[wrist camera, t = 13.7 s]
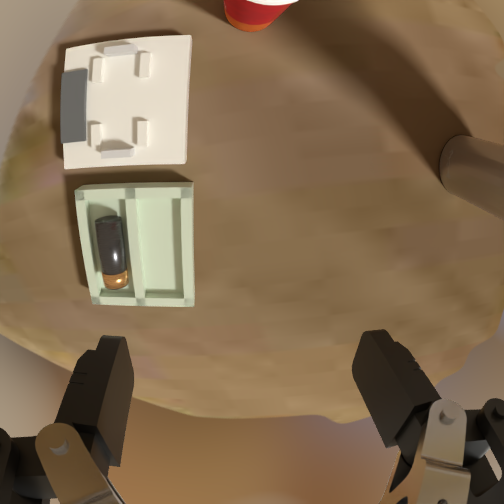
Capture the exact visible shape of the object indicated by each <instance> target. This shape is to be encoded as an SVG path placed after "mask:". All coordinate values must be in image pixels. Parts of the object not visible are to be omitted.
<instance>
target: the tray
mask: <svg viewBox="0 0 504 504" xmlns="http://www.w3.org/2000/svg"><path fill="white" fill-rule="evenodd" d="M75 201H76V210H77V218H78V226H79V233H80V240H81V246H82V253H83V258H84V264H85V270H86V275H87V280H88V285H89V290H90V294H91V299H92V303H93V304H103V305H129V306H171V307H194V301H195V284H194V241H193V182H143V183H112V184H91V185H82V186H81V187H79V188H78V189H76V190H75ZM110 215H115V216H120V217H121V218H122V226H123V237H124V246H125V255H126V263H127V269H128V277H129V283H128V285H127V286H125V287H124V288H121V289H118V290H111V289H107V288H106V287H105V286H104V283H103V278H102V272H101V265H100V259H99V252H98V245H97V238H96V230H95V220H96V219H98V218H100V217H104V216H110Z"/></svg>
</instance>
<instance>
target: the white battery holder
mask: <svg viewBox="0 0 504 504" xmlns="http://www.w3.org/2000/svg"><path fill="white" fill-rule="evenodd" d="M191 51H192V37H191V35H174V36H155V37H142V38H131V39H122V40H114V41H107V42H100V43H94V44H88V45H83V46H77V47H72V48H67V49H66V56H65V68H64V73H62V79H61V109H60V126H61V144H63V150H64V168H65V169H73V168H86V167H102V166H121V165H148V164H185V163H186V161H187V126H188V101H189V81H190V65H191Z"/></svg>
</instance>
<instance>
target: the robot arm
mask: <svg viewBox="0 0 504 504" xmlns="http://www.w3.org/2000/svg"><path fill="white" fill-rule="evenodd" d="M439 169H440V177H441V181H442V183H443V185H444V187H445V188H446V190H448V191H449V192H450V193H452V194H454V195H456V196H458V197H460V198H462V199H464V200H466V201H468V202H470V203H472V204H474V205H475V206H477V207H479V208H481V209H483V210H485V211H487V212H489V213H491V214H493V215H495V216H496V217H498V218H500V219H502V220H504V145H500V144H497V143H493V142H489V141H485V140H482V139H478V138H474V137H469V136H465V135H458V136H455V137H453V138H452V139H450V140H449V141H448V142H447V144H446V145H445V147H444V149H443V151H442V154H441V158H440V166H439ZM352 374H353V378H354V380H355V382H356V385H357V387H358V389H359V391H360V393H361V395H362V397H363V399H364V401H365V404H366V406H367V408H368V410H369V412H370V414H371V416H372V419H373V421H374V423H375V425H376V427H377V429H378V432H379V434H380V436H381V438H382V440H383V442H384V444H385V447H386V448H389V447H392V446H396V445H398V446H399V448H400V450H399V452H398V453H397V456H396V459H395V463H394V466H393V469H392V472H391V475H390V478H389V481H388V484H387V486H386V489H385V492H384V495H383V497H382V499H381V500H380V502H379V504H504V401H503V400H501V399H497V398H493V399H490V400H488V401H487V402H486V403H485V405H484V406H483V408H482V409H481V410H464V409H463V408H462V407H461V406H460V405H459V404H458V403H456V402H454V401H452V400H449V399H442V398H441V397H440V396H439V394H438V392H437V391H436V389H435V388H434V386H433V385H432V383H431V382H430V380H429V379H428V377H427V376H426V375H425V373H424V372H423V370H421V367H420V366H419V364H418V363H417V362H415V359H414V357H413V356H412V354H411V353H410V351H409V350H408V349H407V348H405V347H404V346H403V345H401V344H400V343H399V342H398V341H397V342H394V340H393V339H392V338H391V336H390V335H389V333H388V332H387V331H386V330H384V329H381V330H372V331H365V332H364V333H363V334H362V336H361V339H360V343H359V346H358V349H357V351H356V354H355V357H354V360H353V364H352ZM69 382H70V383H69V384H68V386H67V389H66V392H65V394H64V397H63V400H62V403H61V405H60V408H59V411H58V414H57V417H56V419H55V422H54V423H53V424H49V425H47V426H45V427H44V428H43V429H42V430H41V431H40V432H39V433H38V435H37V436H33V437H16V438H11V437H10V436H9V435H8V434H7V432H6V431H4V430H3V429H2V428H0V504H50V499H51V498H58V500H59V502H60V504H126V503H125V502H124V500H123V499H122V498H121V496H120V495H119V493H118V492H117V490H116V489H115V488H114V486H113V484H112V483H111V481H110V480H109V478H108V477H107V476H108V469H109V465H110V466H117V467H120V463H121V455H122V449H123V442H124V436H125V430H126V424H127V418H128V413H129V407H130V402H131V397H132V392H133V387H134V372H133V367H132V363H131V359H130V355H129V350H128V346H127V342H126V339H125V337H122V336H106V335H103V336H102V337H101V338H100V341H99V343H98V346H97V348H96V350H87V351H86V352H85V353H84V354H83V355H82V356H81V357H80V358H79V359H78V361H77V363H76V366H75V368H74V371H73V374H72V376H71V378H70V381H69ZM490 448H491V450H492V452H493V454H494V456H495V458H496V460H497V461H498V463H499V465H500V467H501V470H502V477H501V479H500V481H498V480H497V478H496V476H495V474H494V472H493V470H492V468H491V466H490V464H489V462H488V460H487V458H486V456H485V453H486V452H487V451H488V450H489V449H490Z"/></svg>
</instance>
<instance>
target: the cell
mask: <svg viewBox="0 0 504 504" xmlns="http://www.w3.org/2000/svg"><path fill="white" fill-rule="evenodd" d="M95 230H96V238H97V245H98V252H99V259H100V265H101V272H102V278H103V283H104V286H105V287H106V288H107V289H111V290H118V289H121V288H124V287H125V286H127V285H128V283H129V277H128V269H127V263H126V255H125V246H124V237H123V226H122V218H121V217H120V216H115V215H110V216H104V217H100V218H98V219H96V220H95Z"/></svg>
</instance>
